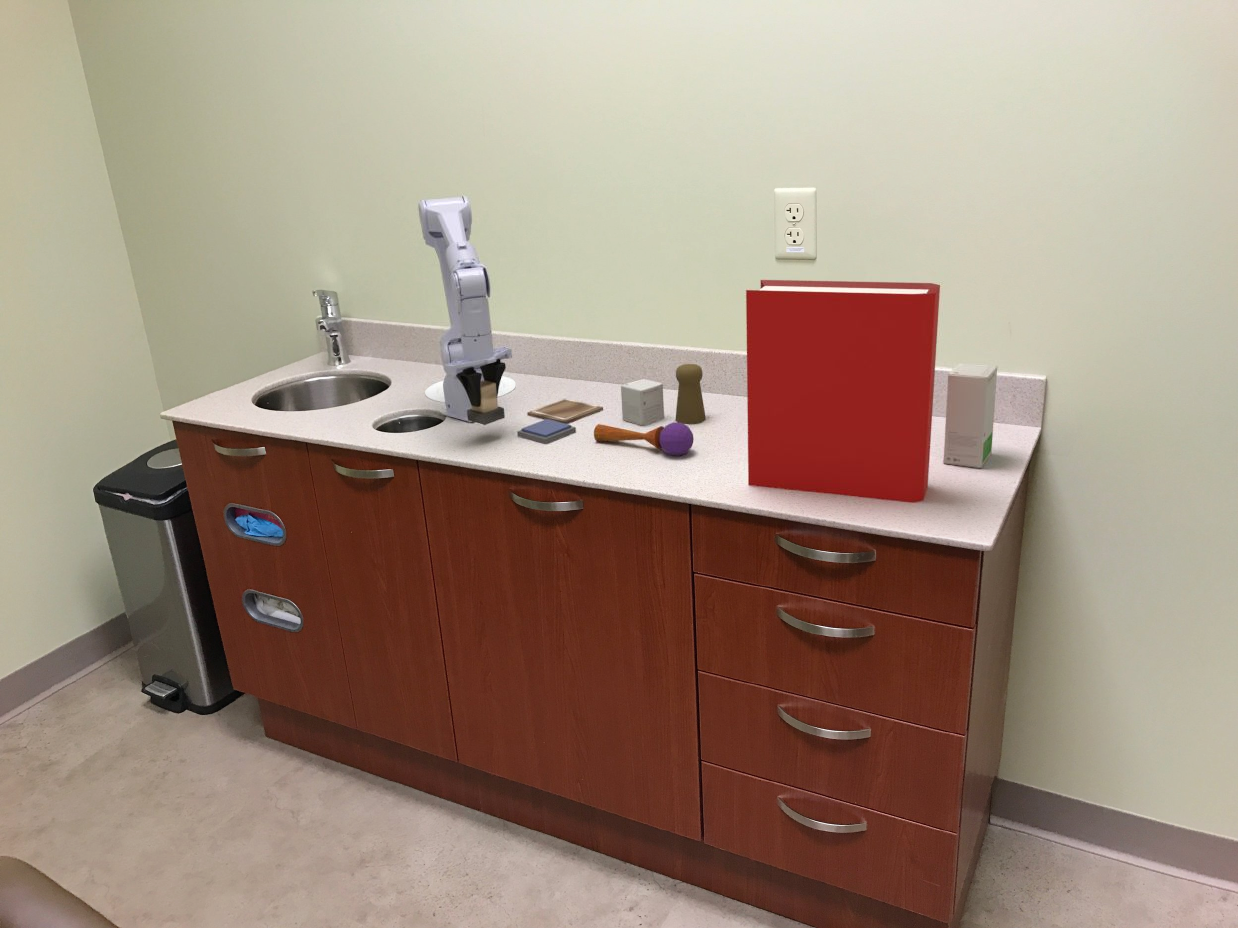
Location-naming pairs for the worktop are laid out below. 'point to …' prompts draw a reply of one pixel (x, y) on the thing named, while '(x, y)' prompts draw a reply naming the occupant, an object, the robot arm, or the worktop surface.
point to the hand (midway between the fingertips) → (484, 402)
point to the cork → (689, 395)
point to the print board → (565, 411)
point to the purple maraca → (652, 437)
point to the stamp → (486, 405)
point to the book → (841, 386)
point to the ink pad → (546, 431)
